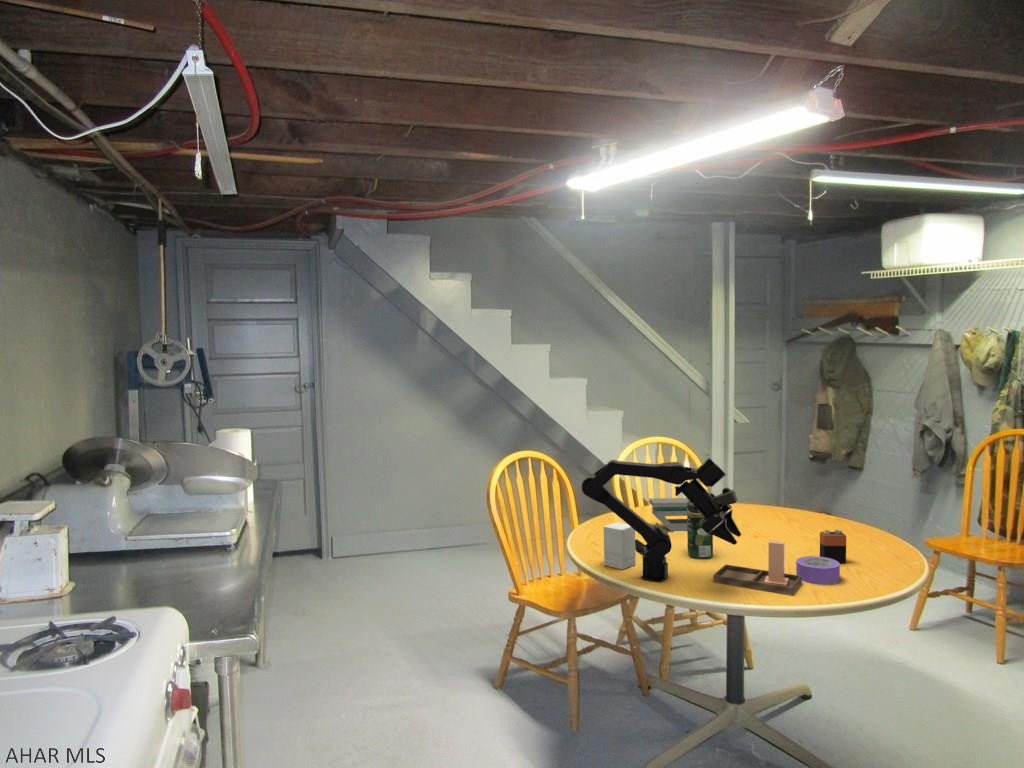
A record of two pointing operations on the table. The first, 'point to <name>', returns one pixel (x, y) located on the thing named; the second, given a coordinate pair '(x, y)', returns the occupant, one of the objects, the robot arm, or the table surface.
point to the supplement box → (619, 545)
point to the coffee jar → (698, 535)
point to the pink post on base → (776, 564)
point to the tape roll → (818, 570)
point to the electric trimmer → (639, 546)
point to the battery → (833, 545)
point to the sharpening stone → (670, 512)
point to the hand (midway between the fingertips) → (738, 539)
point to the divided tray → (754, 579)
